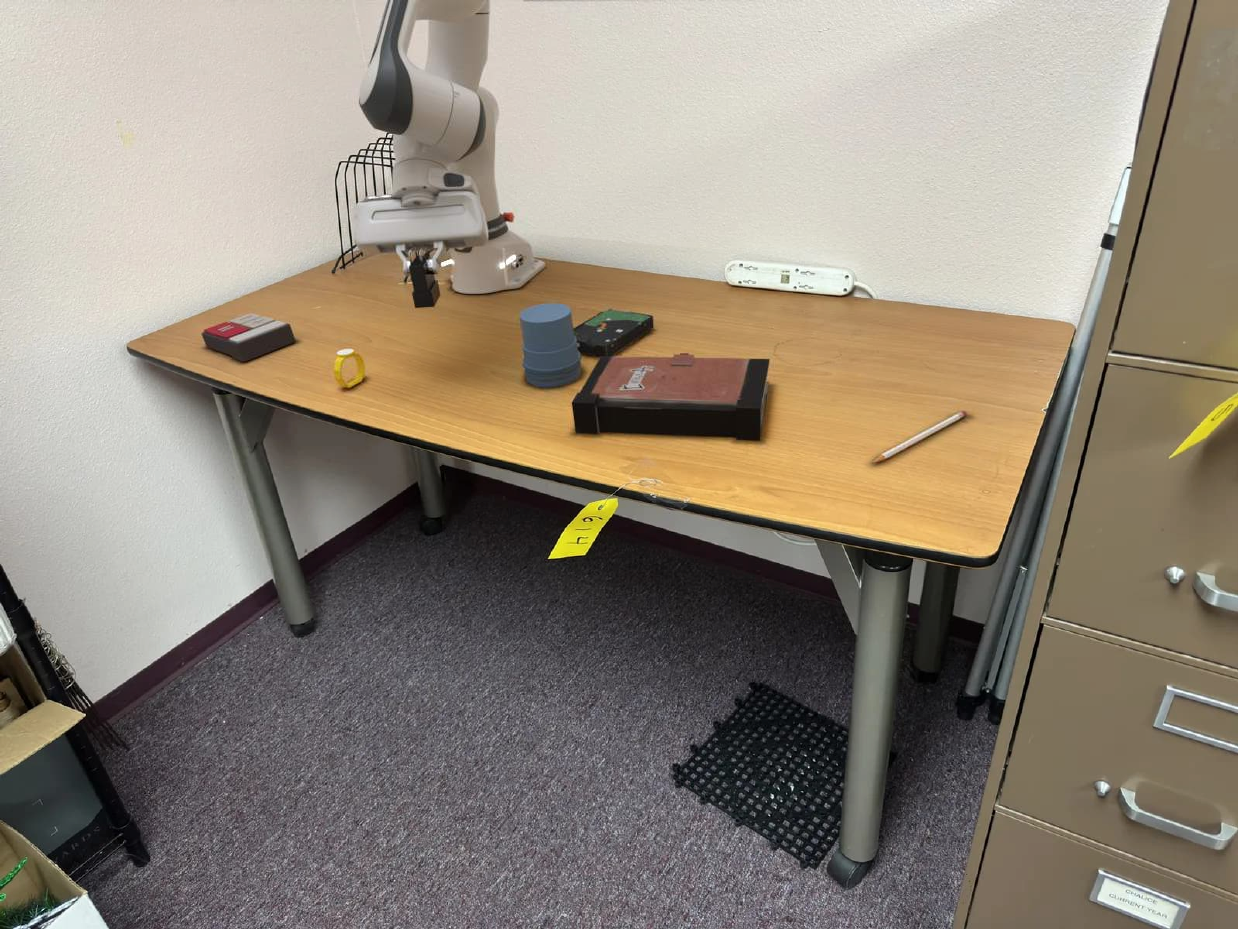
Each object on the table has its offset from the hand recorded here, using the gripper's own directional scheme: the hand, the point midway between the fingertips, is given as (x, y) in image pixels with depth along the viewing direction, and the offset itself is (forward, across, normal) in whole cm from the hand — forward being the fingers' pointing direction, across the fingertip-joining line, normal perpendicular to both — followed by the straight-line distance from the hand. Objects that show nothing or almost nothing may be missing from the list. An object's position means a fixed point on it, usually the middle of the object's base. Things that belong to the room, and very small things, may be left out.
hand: (421, 273), depth 124 cm
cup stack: (+12, +18, +15) cm, 26 cm away
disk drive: (+3, +27, +24) cm, 36 cm away
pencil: (+32, +69, -6) cm, 76 cm away
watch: (+11, -16, +17) cm, 26 cm away
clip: (+3, 0, +4) cm, 5 cm away
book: (+23, +37, +4) cm, 44 cm away
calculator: (-4, -43, +33) cm, 54 cm away
